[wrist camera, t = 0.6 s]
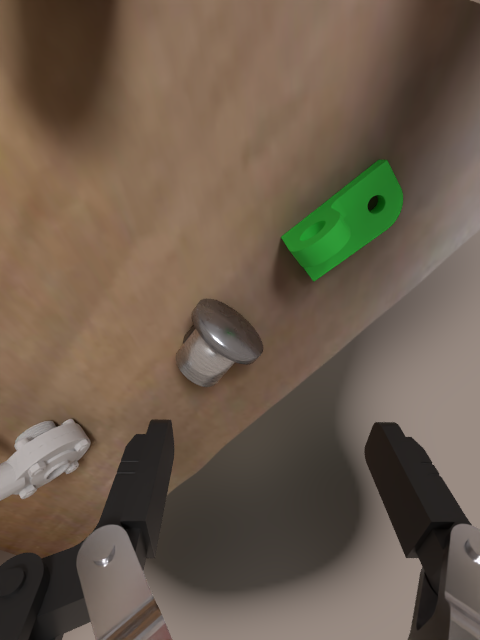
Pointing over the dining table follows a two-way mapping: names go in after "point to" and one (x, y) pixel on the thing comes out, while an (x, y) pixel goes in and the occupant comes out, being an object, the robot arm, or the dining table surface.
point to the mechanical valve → (42, 457)
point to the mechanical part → (346, 221)
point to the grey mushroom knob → (216, 343)
